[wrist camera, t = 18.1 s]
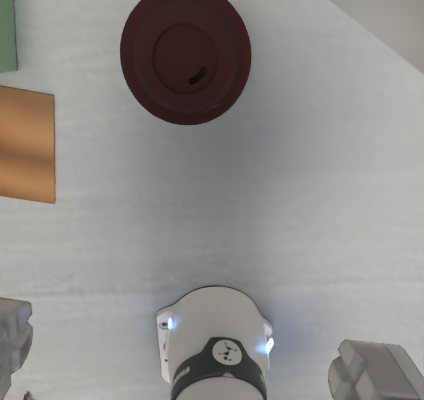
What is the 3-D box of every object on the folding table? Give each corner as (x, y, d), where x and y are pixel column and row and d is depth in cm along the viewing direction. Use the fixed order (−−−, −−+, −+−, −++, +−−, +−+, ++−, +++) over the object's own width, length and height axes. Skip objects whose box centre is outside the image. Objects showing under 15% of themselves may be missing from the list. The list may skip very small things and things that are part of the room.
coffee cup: (139, 11, 35) (99, -14, 21) (231, 1, 35) (251, -31, 21) (154, 106, 39) (129, 136, 26) (237, 97, 39) (257, 123, 25)
